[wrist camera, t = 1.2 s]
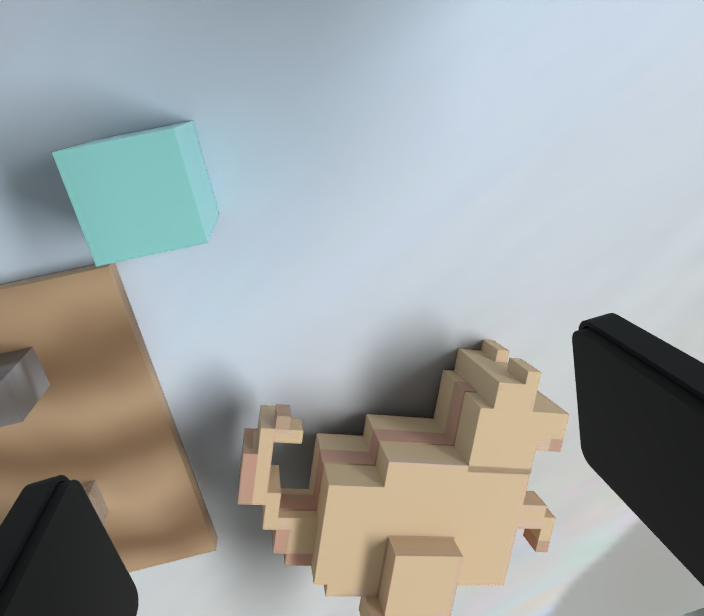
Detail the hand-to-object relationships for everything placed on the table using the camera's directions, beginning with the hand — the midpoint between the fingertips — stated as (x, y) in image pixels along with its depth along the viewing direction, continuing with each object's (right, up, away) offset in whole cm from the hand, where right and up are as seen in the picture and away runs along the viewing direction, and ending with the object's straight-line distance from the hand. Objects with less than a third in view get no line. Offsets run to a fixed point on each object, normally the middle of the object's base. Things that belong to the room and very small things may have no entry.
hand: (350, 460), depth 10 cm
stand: (-19, -6, +25) cm, 32 cm away
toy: (+2, -7, +29) cm, 30 cm away
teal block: (-11, +10, +20) cm, 25 cm away
